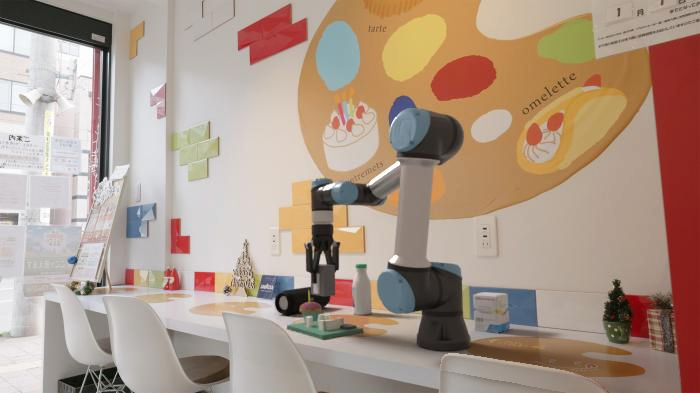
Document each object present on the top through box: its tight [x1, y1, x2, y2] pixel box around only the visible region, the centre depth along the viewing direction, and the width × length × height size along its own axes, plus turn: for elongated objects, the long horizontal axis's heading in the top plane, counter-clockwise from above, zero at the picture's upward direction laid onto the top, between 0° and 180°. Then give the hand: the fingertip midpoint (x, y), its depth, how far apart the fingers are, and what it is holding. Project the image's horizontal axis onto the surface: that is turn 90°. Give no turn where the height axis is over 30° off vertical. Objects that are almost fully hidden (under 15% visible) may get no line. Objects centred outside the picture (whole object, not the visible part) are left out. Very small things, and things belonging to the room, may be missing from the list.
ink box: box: [472, 291, 511, 334], centre depth 147 cm, size 8×8×12 cm
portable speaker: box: [274, 286, 331, 316], centre depth 192 cm, size 26×10×10 cm, turn 141°
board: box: [286, 313, 364, 340], centre depth 151 cm, size 22×16×4 cm
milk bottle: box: [351, 263, 373, 316], centre depth 184 cm, size 8×8×20 cm
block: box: [310, 263, 336, 297], centre depth 153 cm, size 9×4×10 cm, turn 37°
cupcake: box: [300, 289, 323, 321], centre depth 170 cm, size 9×8×12 cm
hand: (323, 292), depth 152 cm, fingers closed on block, 4 cm apart
